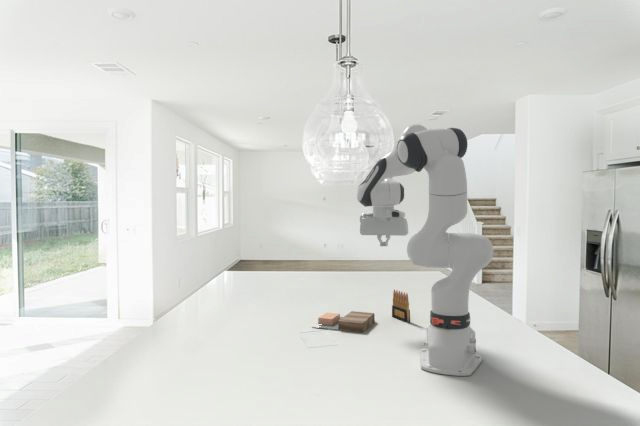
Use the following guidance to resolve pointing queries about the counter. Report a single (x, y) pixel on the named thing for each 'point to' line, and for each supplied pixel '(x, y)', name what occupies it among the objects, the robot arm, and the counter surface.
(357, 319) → the deck
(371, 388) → the counter surface
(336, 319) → the tile
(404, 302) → the ammunition clip
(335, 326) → the mat
